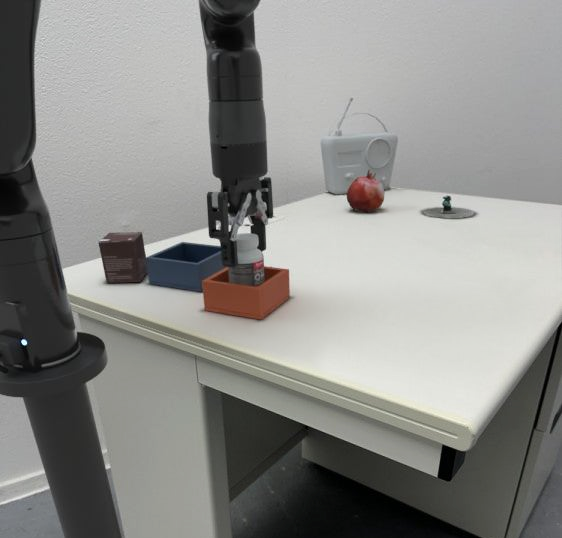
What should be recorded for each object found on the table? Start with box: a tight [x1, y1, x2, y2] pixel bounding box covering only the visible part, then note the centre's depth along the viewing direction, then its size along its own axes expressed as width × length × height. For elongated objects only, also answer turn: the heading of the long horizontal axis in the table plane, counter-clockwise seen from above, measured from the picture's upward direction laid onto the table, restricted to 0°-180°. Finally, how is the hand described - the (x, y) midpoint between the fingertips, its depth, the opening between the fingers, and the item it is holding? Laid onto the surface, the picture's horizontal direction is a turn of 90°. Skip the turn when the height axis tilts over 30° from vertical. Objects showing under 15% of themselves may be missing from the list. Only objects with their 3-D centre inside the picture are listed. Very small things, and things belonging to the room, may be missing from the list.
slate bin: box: [145, 241, 226, 293], centre depth 94 cm, size 11×11×5 cm
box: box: [98, 231, 148, 284], centre depth 94 cm, size 6×6×7 cm
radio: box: [320, 96, 399, 195], centre depth 155 cm, size 22×8×25 cm, turn 109°
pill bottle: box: [228, 232, 265, 287], centre depth 81 cm, size 5×5×10 cm
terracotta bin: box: [202, 265, 291, 320], centre depth 82 cm, size 10×10×5 cm
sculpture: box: [422, 195, 475, 219], centre depth 133 cm, size 12×9×8 cm
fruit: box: [346, 170, 385, 213], centre depth 136 cm, size 9×10×10 cm
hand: (245, 258), depth 80 cm, fingers open, 8 cm apart
